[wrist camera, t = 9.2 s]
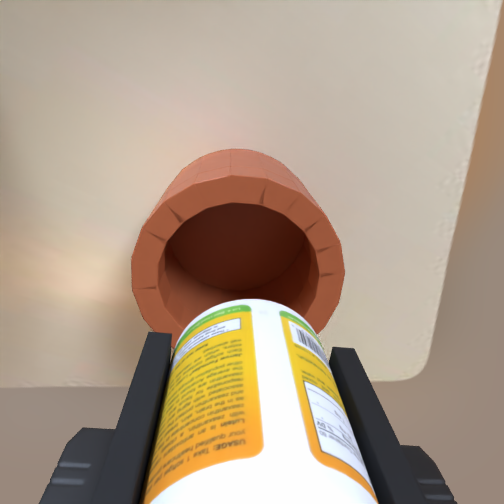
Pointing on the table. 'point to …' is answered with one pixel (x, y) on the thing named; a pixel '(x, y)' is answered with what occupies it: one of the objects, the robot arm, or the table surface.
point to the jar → (235, 244)
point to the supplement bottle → (253, 416)
